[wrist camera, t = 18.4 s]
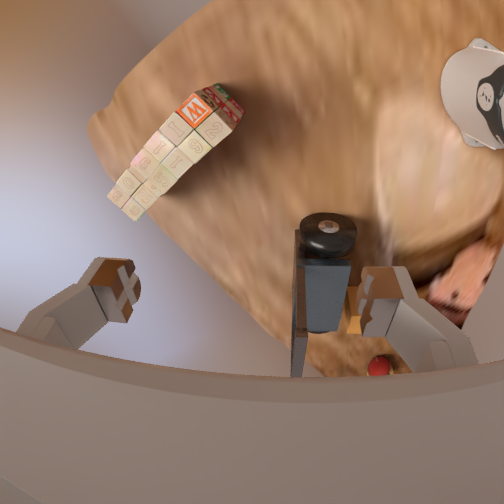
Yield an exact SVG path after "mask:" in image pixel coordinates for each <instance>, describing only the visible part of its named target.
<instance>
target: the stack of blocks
mask: <svg viewBox="0 0 504 504" xmlns="http://www.w3.org/2000/svg"><path fill="white" fill-rule="evenodd" d="M244 114H245V111H244V110H243V109H242V108H241V106H240V105H239V104H238V103H237V102H236V101H235V100H234V99H233V98H231V97H230V96H229V95H228V94H227V93H226V92H225V90H224V89H223V88H222V87H221V86H220V85H219V84H218V83H216V84H213V85H212V86H209V87H206V88H203V89H201V90H199V91H196V92H194V93H193V94H192V95H191V96H190V97H189V98H188V99H187V100H186V101H185V102H184V103H183V104H182V105H181V106H180V107H179V108H178V109H177V110H176V111H175V112H174V113H173V114H172V115H171V116H170V117H169V118H168V119H167V121H166V122H165V123H164V124H163V125H162V126H161V127H160V129H158V130H157V131H156V132H155V133H154V134H153V136H152V137H151V138H150V139H149V140H148V141H147V143H146V144H145V145H144V147H143V148H142V149H141V150H140V152H139V153H138V154H137V155H136V157H135V158H134V159H133V160H132V162H131V163H130V164H131V166H130V167H129V168H128V169H127V170H126V171H125V172H124V173H123V174H122V176H121V177H120V178H119V179H118V181H117V182H116V185H115V186H114V187H113V188H112V190H111V191H110V192H109V194H108V195H107V197H108V198H109V199H110V200H111V201H113V202H114V203H115V204H116V205H117V206H118V207H119V208H120V209H122V210H123V211H124V212H125V213H126V214H127V215H128V216H129V217H130V218H131V219H133V220H134V221H135V222H136V221H137V220H138V219H139V218H140V217H141V216H142V214H143V213H144V212H145V211H146V210H148V209H149V207H150V206H151V205H152V204H153V203H154V202H155V201H156V200H157V199H158V198H159V197H160V196H161V195H162V194H165V193H166V192H167V191H168V190H169V189H170V188H171V187H172V186H173V185H174V184H175V183H176V182H177V181H178V180H179V178H180V177H181V176H182V175H183V174H184V173H185V172H186V171H187V170H188V169H189V168H190V167H191V166H192V165H193V164H196V163H197V162H198V161H199V160H200V159H201V158H202V157H203V156H204V155H206V154H207V153H208V152H209V151H210V150H211V149H212V148H213V147H215V146H216V145H217V144H218V143H219V142H221V141H222V140H223V139H224V138H225V137H226V136H228V135H229V134H230V133H231V132H232V131H233V130H234V128H235V127H236V125H237V124H238V123H239V121H240V119H241V117H242V116H243V115H244Z"/></svg>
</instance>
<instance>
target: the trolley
mask: <svg viewBox="0 0 504 504" xmlns="http://www.w3.org/2000/svg"><path fill="white" fill-rule="evenodd" d="M356 238H357V227H356V225H355V224H354V223H353V222H352V221H351V220H349V219H348V218H346V217H344V216H341V215H338V214H333V213H316V214H312V215H309V216H307V217H305V218H304V219H303V220H302V221H301V222H300V230H295V246H294V266H293V284H292V339H291V374H290V377H302V371H303V366H304V360H305V354H306V347H307V341H308V332H310V333H315V334H322V333H327V332H329V331H337V329H338V325H339V321H340V317H341V313H342V308H343V304H344V299H345V295H346V290H347V286H348V281H349V276H350V271H351V263H350V260H342V259H329V258H339V257H343V256H346V255H348V254H350V253H351V252H352V251H353V250H354V248H355V243H356ZM305 250H306V251H307V252H309V253H311V254H313V255H316V256H319V257H321V259H305Z"/></svg>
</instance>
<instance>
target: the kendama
mask: <svg viewBox="0 0 504 504" xmlns="http://www.w3.org/2000/svg"><path fill="white" fill-rule="evenodd" d="M381 375H394V372H393V368H392V366H391V364H390V362H389V361H388V359H386V358H385V357H381V356H379V357H375V358H374V359H372V360H371V361H370V363H369V366H368V371H367V376H381Z"/></svg>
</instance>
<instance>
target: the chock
mask: <svg viewBox="0 0 504 504" xmlns="http://www.w3.org/2000/svg"><path fill="white" fill-rule="evenodd" d="M357 290H358V286H347V290H346V295H345V299H344V304H343V309H344V316H345V324H346V331H347V333H361V327H360V318H361V315H360V314H359V313H358V311H357V303H356V298H357Z"/></svg>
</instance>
